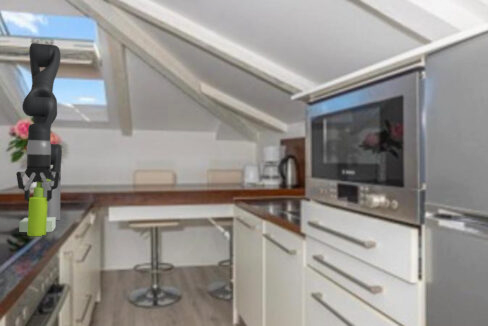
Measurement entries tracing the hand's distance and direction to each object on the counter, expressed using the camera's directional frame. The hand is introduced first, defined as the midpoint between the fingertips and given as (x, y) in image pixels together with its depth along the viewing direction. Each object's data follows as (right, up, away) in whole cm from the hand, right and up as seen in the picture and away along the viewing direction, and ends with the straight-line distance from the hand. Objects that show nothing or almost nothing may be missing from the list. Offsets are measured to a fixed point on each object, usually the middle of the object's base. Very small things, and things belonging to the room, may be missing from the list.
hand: (38, 200), depth 144 cm
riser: (-5, -12, +10) cm, 16 cm away
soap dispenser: (0, -12, 0) cm, 12 cm away
